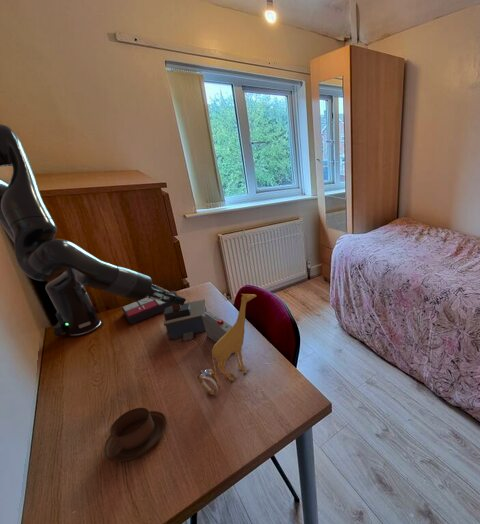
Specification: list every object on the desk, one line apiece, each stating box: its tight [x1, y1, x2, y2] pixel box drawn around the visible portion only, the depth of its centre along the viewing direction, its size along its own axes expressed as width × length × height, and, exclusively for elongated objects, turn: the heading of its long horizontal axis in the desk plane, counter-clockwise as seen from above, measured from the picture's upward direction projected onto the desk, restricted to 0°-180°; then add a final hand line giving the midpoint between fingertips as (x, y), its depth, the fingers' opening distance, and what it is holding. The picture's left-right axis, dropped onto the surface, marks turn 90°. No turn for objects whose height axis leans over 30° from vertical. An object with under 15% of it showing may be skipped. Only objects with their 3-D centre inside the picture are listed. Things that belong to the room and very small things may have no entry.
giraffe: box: [211, 293, 257, 382], centre depth 82 cm, size 16×4×25 cm, turn 141°
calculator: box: [121, 297, 172, 325], centre depth 116 cm, size 11×4×15 cm
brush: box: [163, 290, 191, 321], centre depth 91 cm, size 4×7×8 cm, turn 115°
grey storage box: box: [163, 299, 208, 340], centre depth 106 cm, size 13×12×7 cm
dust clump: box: [182, 331, 194, 342], centre depth 101 cm, size 3×3×1 cm
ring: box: [196, 368, 221, 396], centre depth 78 cm, size 7×3×8 cm, turn 60°
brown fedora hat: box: [103, 407, 167, 463], centre depth 66 cm, size 12×12×6 cm
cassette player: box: [201, 310, 235, 355], centre depth 97 cm, size 16×3×10 cm, turn 53°
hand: (181, 300), depth 93 cm, fingers closed on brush, 2 cm apart
